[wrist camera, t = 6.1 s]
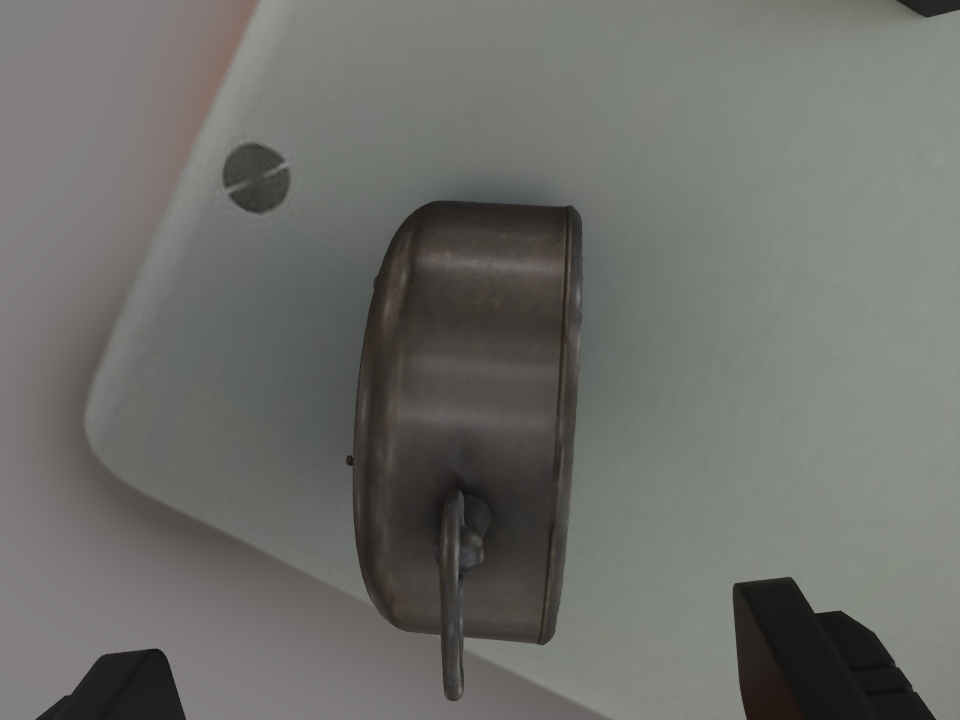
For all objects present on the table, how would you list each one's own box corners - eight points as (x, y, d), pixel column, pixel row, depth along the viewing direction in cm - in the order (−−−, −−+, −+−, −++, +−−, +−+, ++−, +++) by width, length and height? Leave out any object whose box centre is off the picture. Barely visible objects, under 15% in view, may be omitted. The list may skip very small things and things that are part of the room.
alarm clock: (547, 501, 29) (599, 944, 13) (395, 492, 29) (270, 923, 13) (572, 186, 26) (676, 286, 10) (402, 177, 26) (249, 264, 10)
